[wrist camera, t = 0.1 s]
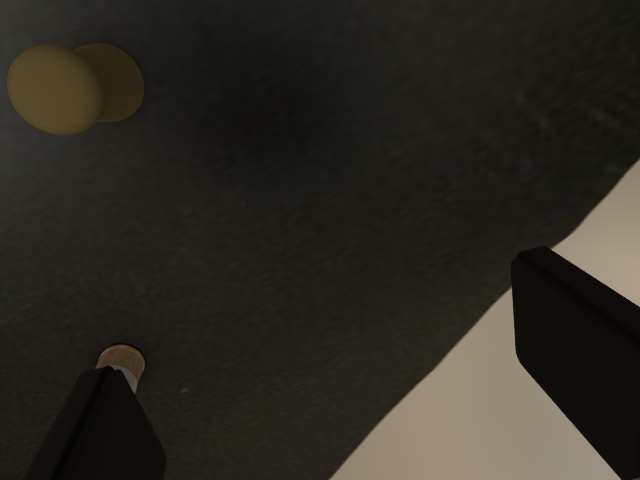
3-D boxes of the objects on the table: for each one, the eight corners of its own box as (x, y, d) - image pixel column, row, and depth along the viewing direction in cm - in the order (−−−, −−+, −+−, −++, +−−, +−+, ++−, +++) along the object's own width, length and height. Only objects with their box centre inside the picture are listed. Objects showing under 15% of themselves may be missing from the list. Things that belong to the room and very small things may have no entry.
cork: (52, 96, 35) (-29, 111, 25) (82, 25, 34) (9, 12, 24) (125, 135, 37) (78, 165, 27) (157, 71, 36) (119, 76, 26)
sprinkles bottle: (126, 385, 47) (81, 503, 34) (89, 362, 45) (27, 477, 33) (155, 358, 46) (119, 469, 34) (118, 334, 44) (66, 441, 32)
